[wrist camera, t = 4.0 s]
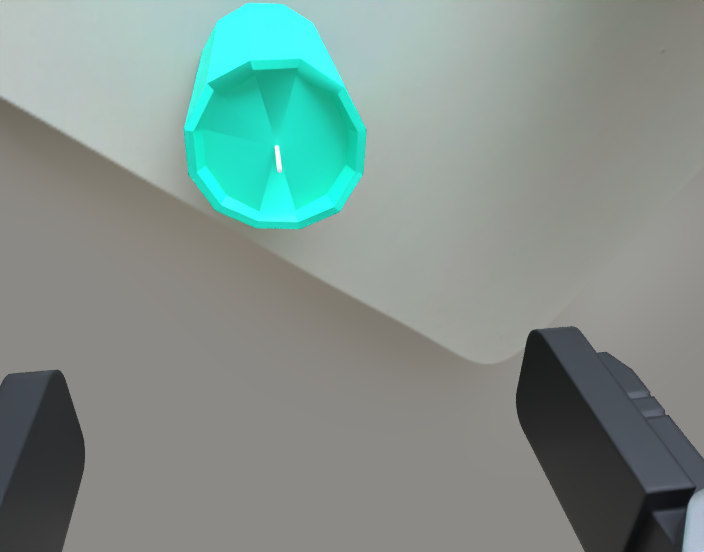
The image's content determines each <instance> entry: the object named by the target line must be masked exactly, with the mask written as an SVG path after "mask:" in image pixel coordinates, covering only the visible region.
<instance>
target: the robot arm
mask: <svg viewBox="0 0 704 552" xmlns="http://www.w3.org/2000/svg"><path fill="white" fill-rule="evenodd" d="M516 407H517V414H518V418H519V421H520V424H521V427H522V429H523V431H524V433H525V435H526V437H527V439H528V441H529V443H530V445H531V447H532V449H533V450H534V453H535V455H536V457H537V459H538V461H539V463H540V464H541V466H542V468H543V470H544V472H545V474H546V476H547V478H548V480H549V482H550V484H551V486H552V488H553V490H554V492H555V494H556V496H557V498H558V500H559V502H560V504H561V506H562V508H563V510H564V511H565V514H566V515H567V517H568V519H569V521H570V523H571V525H572V527H573V529H574V531H575V533H576V535H577V537H578V539H579V541H580V543H581V545H582V547H583V549H584V551H585V552H704V459H703V458H702V456H701V455H700V454H699V453H698V451H697V450H696V449H695V447H694V446H693V445H692V444H691V443H690V441H689V440H688V439H687V437H686V436H685V435H684V434H683V432H682V431H681V430H680V429H679V427H678V426H677V425H676V424H675V422H674V421H673V420H672V419H671V417H670V416H669V415H665V410H664V409H663V408H662V406H661V405H660V404H659V402H658V401H657V400H656V399H655V397H651V395H650V391H649V390H648V389H647V387H646V386H645V385H644V383H643V382H642V381H641V380H640V379H639V377H638V376H637V375H636V374H635V372H634V371H633V370H632V369H631V368H629V367H628V366H626V365H625V364H623V363H622V362H621V361H619V360H617V359H616V358H615V357H613V356H612V355H610V354H609V353H607V352H601V353H596V351H595V350H594V349H593V347H592V346H591V345H590V343H589V342H588V341H587V340H586V338H585V337H584V335H583V334H582V333H581V331H580V330H579V329H578V328H576V327H572V326H570V327H559V328H547V329H536V330H532V331H531V332H530V333H529V335H528V338H527V342H526V347H525V353H524V357H523V362H522V367H521V372H520V378H519V383H518V387H517V393H516ZM84 463H85V446H84V438H83V435H82V431H81V428H80V424H79V421H78V418H77V415H76V412H75V409H74V406H73V402H72V399H71V396H70V393H69V390H68V387H67V383H66V380H65V378H64V375H63V374H62V372H61V371H59V370H50V371H49V370H48V371H39V372H38V371H37V372H26V373H14V374H9V375H7V376H6V377H5V378H4V380H3V382H2V384H1V386H0V552H62V549H63V545H64V541H65V538H66V534H67V531H68V527H69V523H70V520H71V516H72V512H73V509H74V505H75V501H76V497H77V494H78V490H79V486H80V483H81V479H82V475H83V471H84Z"/></svg>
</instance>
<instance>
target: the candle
mask: <svg viewBox="0 0 704 552" xmlns="http://www.w3.org/2000/svg"><path fill="white" fill-rule="evenodd" d="M366 131H367V130H366V128H365V126H364V124H363V122H362V120H361V118H360V116H359V114H358V112H357V110H356V108H355V106H354V104H353V102H352V100H351V98H350V96H349V94H348V92H347V90H346V88H345V86H344V84H343V82H342V80H341V78H340V76H339V74H338V72H337V70H336V68H335V66H334V64H333V62H332V60H331V58H330V56H329V54H328V52H327V50H326V48H325V46H324V44H323V42H322V40H321V38H320V36H319V34H318V32H317V30H316V28H315V27H314V25H313V23H311V22H310V21H308V20H307V19H305V18H304V17H302V16H300V15H299V14H297V13H296V12H294V11H293V10H291V9H290V8H288V7H287V6H285V5H283V4H258V3H247V4H245V5H244V6H242V7H240V8H239V9H237V10H235V11H234V12H232V13H230V14H229V15H227V16H225V17H224V18H222V19H220V20H219V21H217V23H216V25H215V27H214V29H213V31H212V33H211V35H210V37H209V39H208V41H207V43H206V45H205V47H204V49H203V51H202V54H201V59H200V63H199V67H198V71H197V76H196V80H195V84H194V88H193V93H192V97H191V101H190V105H189V110H188V114H187V118H186V122H185V127H184V136H185V146H186V156H187V165H188V175H189V176H190V177H191V179H192V180H193V181H194V183H195V184H196V185H197V187H198V188H199V189H200V191H201V192H202V193H203V195H204V196H205V197H206V199H207V200H208V201H209V203H210V204H211V205H212V207H213V208H214V209H215V211H217V212H220V213H222V214H224V215H227V216H229V217H231V218H234V219H236V220H238V221H241V222H243V223H245V224H248V225H250V226H252V227H255V228H274V229H302V228H304V227H306V226H309V225H311V224H313V223H315V222H318V221H320V220H322V219H325V218H327V217H329V216H332V215H334V214H336V213H338V212H340V211H341V209H342V207H343V206H344V204H345V203H346V201H347V199H348V198H349V196H350V195H351V193H352V191H353V190H354V188H355V186H356V185H357V183H358V182H359V180H360V178H361V177H362V175H363V172H364V158H365V144H366Z"/></svg>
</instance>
